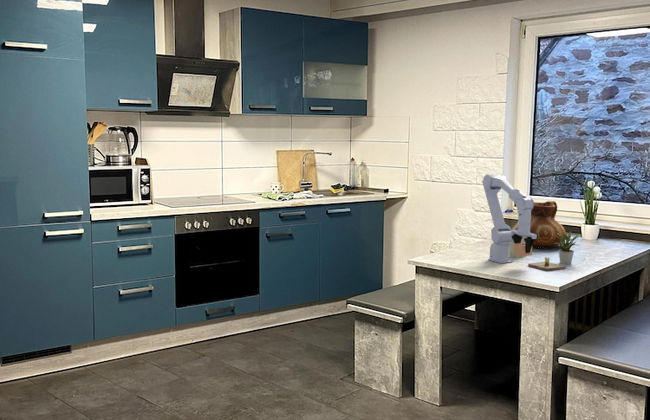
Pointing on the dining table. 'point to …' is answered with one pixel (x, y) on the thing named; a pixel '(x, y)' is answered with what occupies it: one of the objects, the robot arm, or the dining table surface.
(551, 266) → the keeper
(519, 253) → the open box
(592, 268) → the dining table surface
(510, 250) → the can
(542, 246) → the jug
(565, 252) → the house plant
